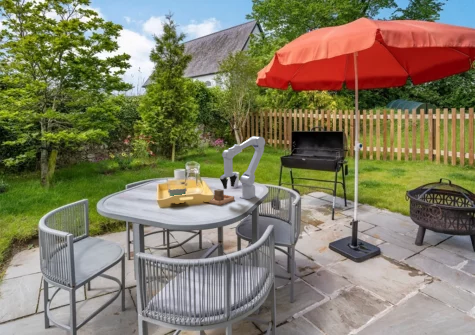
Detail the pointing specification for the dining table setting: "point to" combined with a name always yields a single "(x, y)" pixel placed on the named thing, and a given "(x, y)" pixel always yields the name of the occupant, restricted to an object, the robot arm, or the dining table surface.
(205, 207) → the dining table surface
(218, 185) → the dining table surface
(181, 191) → the food container
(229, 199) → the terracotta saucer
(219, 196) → the walnut block
